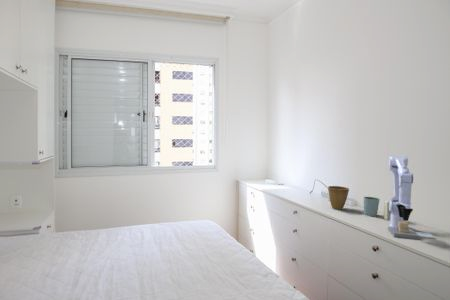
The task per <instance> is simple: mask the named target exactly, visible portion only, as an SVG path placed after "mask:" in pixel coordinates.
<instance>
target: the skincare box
mask: <svg viewBox="0 0 450 300" xmlns="http://www.w3.org/2000/svg"><path fill="white" fill-rule="evenodd" d="M389 201H390V200H384V205H383V219H384V220H386V221H390V215H391V213H392V212H391V211H390V210H389Z"/></svg>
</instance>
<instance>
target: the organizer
mask: <svg viewBox="0 0 450 300" xmlns="http://www.w3.org/2000/svg"><path fill="white" fill-rule="evenodd" d="M387 231H388V232H389V233H390V234H391V235H392V236H393V238H401V239H410V240H411V239H412V240H420V237H419V235H418V234H416V233H415V232H416V231H414V230H413V229H412V228H409V227H408V233H407V232H399V231H398V227H390V226H387Z"/></svg>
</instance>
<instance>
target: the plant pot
mask: <svg viewBox="0 0 450 300" xmlns="http://www.w3.org/2000/svg"><path fill="white" fill-rule="evenodd" d="M327 190H328V191H327V192H328V197H329V202H330V205H331V208H332V210H337V209H338V210H341V209H342V210H343V209H344V206H345V204H346V202H347V198H348V196H349V191H350V188H349V187H346V186H339V185H338V186H337V185H330V186H328V187H327ZM338 210H337V211H338Z"/></svg>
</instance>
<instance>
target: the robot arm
mask: <svg viewBox="0 0 450 300" xmlns="http://www.w3.org/2000/svg"><path fill="white" fill-rule="evenodd" d="M408 164H409V158H408V157H407V156H395V155H394V156H393V155H390V156H389V157H388V169H389V171H391V172H392V176H393V178H392V179H393V196H392V197H390V199H389V200H388V201H389V210H390V211H391V212H392V213H391V215H390V220H389V223H388V227H398V222H399V221H404V222H409V220H410V219H409V218H410V217H411V216H410V215H411V214H412V212H413V211H414V208H411V204H412V203H411V202H412V201H411V200H412V199H411V198H412V185H413V183H414V173H411V172H410V169H409V168H408Z"/></svg>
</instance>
